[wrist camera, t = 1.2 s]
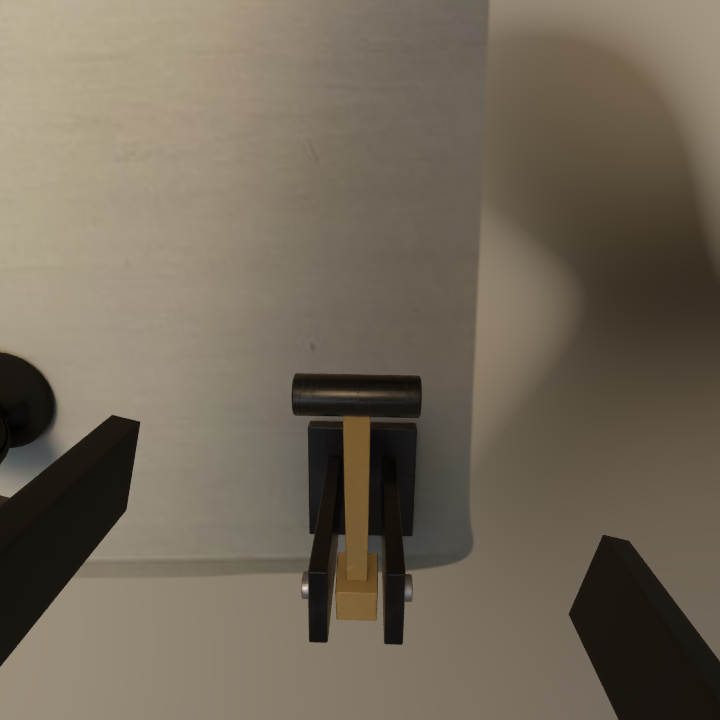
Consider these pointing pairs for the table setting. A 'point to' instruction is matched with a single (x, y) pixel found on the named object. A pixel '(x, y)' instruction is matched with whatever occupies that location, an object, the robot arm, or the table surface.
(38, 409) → the webcam
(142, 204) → the table surface
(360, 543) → the switch lever
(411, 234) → the table surface
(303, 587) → the switch bracket
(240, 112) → the table surface
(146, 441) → the table surface
